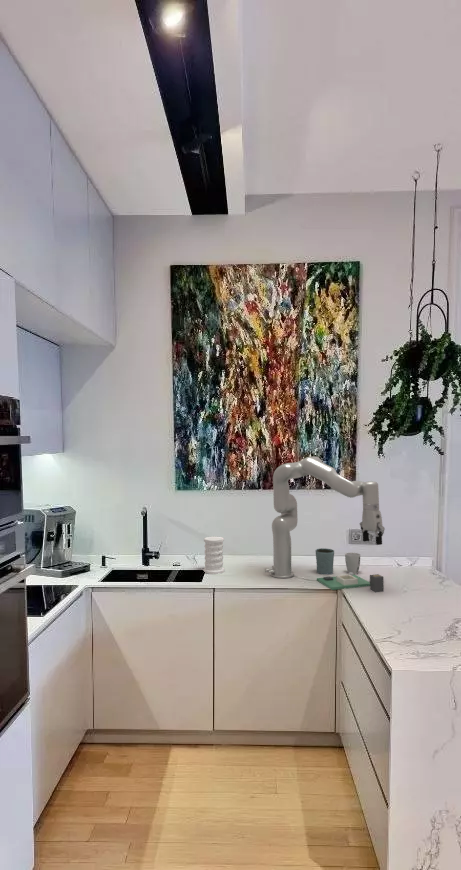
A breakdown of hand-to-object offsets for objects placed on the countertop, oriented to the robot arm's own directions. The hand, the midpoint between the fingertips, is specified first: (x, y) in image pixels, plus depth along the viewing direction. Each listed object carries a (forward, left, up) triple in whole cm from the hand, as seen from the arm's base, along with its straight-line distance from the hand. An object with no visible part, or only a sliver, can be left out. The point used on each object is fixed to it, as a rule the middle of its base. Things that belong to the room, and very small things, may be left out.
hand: (372, 542), depth 229 cm
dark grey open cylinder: (-9, +32, -22) cm, 40 cm away
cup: (+5, +27, -22) cm, 36 cm away
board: (-9, +12, -22) cm, 27 cm away
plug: (0, -3, -22) cm, 22 cm away
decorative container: (-66, +52, -22) cm, 87 cm away
